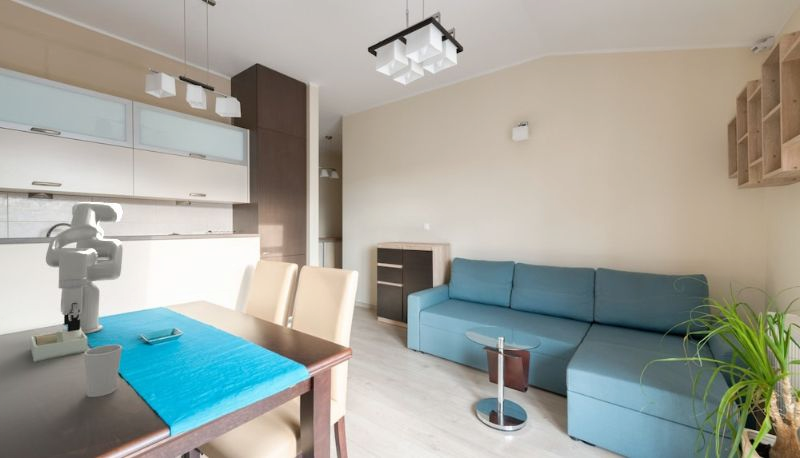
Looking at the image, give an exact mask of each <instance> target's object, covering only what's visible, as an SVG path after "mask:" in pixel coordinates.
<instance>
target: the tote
mask: <svg viewBox="0 0 800 458" xmlns="http://www.w3.org/2000/svg"><path fill="white" fill-rule="evenodd" d="M55 332H56V334H57V343H53V344H48V345H42V346H37V345H36V335H37V334H34V335H31V336H30V352H31V356H32V359H33V362H34V363H36V362H40V361H44V360H51V359H55V358H59V357H64V356H70V355H75V354H80V353H85V352H86V351H87V350H88V343H89V342H88V336H87V335H86V334H84V332H83V331H82V330H81V339H76V340H71V341H65V342H62V330H60V331H54V332H53V331H52V333H55ZM48 333H49V332H48ZM48 333H46V334H48ZM42 334H43V333H40V334H39V335H42Z"/></svg>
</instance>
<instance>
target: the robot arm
mask: <svg viewBox="0 0 800 458" xmlns="http://www.w3.org/2000/svg"><path fill="white" fill-rule="evenodd" d="M71 214H72V218H71V223H70V227H69V228H67V229H64V230H63V231H60V232H59V233H58V234H57V235H55V236H54V237H53V238H52V239H51V240H50V242H49V243H48V248H47V251H46V254H45V262H46V264H47V266H49V267H51V268H58V289H60V290H61V296H60V297H61V300H60V312H61V314H62V315H63V318H64V319H63V320H64V321H63V324H64V326H67V328H68V332H70V331H76V330H80V327H81V330H82V331H83V332H84V334H85V335H86V334H91V333H96V332H98V331H101V330H102V329H103V328H104V327H103V325H102V324H99V318H100V317H99V316H100V312H99V311H100V288H99V287H98V286H97V285H96V284H94V282H96V281H97V282H101V281H112V280H113V281H114V280H117V279H118V278H120V276H121V274H122V273H121V272H122V264H123V262H122V261H123V250H124V249H123V244H122V242H121V240H119V239H114V238H112V239H111V238H104V230H103V229H102V228H101V226H100V222H101V223H116V222H119V221H120V220H121V218H122V215H123V210H122V207H121V205H120V204H119V203H109V202H107V203H106V202H105V203H104V202H93V201H92V202H90V201H88V202H87V201H83V202H82V201H81V202H77V203H74V204H73V205H72V207H71ZM72 243H73V244H74V243H76V247H65V246H67V245H70V244H72Z"/></svg>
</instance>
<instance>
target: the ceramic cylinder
mask: <svg viewBox="0 0 800 458" xmlns="http://www.w3.org/2000/svg"><path fill="white" fill-rule="evenodd" d="M61 331H62V342H65V341H71V340H76V339H81V327H80V330H76V331H70V332H68V327H67V328H64V329H62V330H61Z"/></svg>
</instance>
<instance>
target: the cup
mask: <svg viewBox="0 0 800 458" xmlns="http://www.w3.org/2000/svg"><path fill="white" fill-rule="evenodd" d="M122 348H123V346H122V345H121V344H106V345H102V346H101V345H99V346H96V347H94V348H89V349H87V351H86V352H83V355H84V363H85V366H84V367H85V377H86V396H87V397H89V398H98V397H103V396H105V395H109V394H111V393H114V392H115V391H117V389H118V377H119V369H120V361H121V357H122V351H123V349H122Z"/></svg>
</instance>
